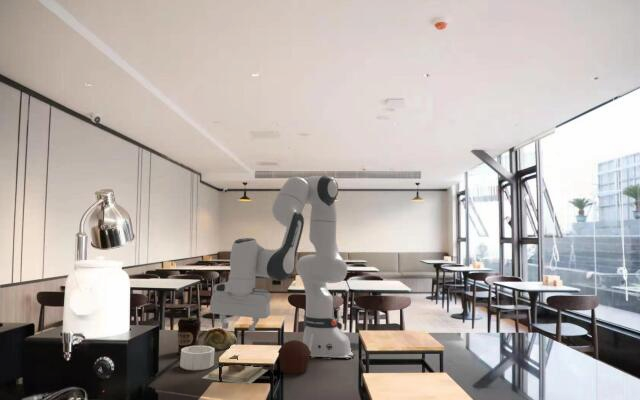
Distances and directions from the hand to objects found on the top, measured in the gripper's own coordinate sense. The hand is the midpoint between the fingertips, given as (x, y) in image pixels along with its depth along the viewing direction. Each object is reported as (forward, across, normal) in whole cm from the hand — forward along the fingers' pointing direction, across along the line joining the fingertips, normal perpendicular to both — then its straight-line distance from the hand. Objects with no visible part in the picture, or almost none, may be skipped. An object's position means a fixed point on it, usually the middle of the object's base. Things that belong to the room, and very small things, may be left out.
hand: (238, 330), depth 140 cm
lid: (+14, 0, 0) cm, 14 cm away
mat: (+14, 0, 0) cm, 14 cm away
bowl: (+15, +16, -4) cm, 22 cm away
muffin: (+14, -16, -12) cm, 25 cm away
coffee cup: (+15, +29, -18) cm, 37 cm away
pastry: (+15, +22, -33) cm, 42 cm away
